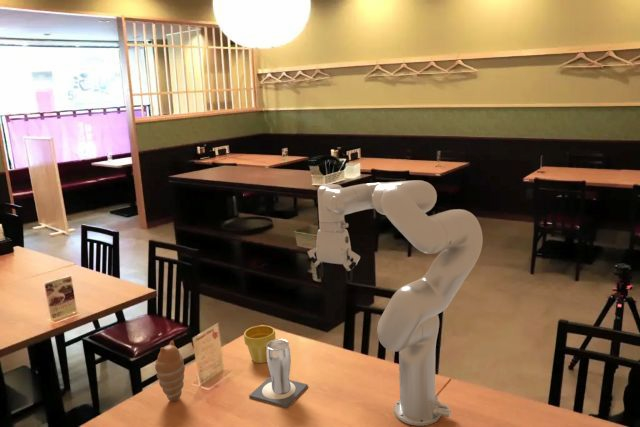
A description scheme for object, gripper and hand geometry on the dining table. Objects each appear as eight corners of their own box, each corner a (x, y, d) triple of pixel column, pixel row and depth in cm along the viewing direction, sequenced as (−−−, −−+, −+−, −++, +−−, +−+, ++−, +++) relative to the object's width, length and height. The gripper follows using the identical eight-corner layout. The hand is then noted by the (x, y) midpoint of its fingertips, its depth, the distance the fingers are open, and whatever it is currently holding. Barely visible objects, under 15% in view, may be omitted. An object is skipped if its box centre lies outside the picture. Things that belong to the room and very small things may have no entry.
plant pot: (246, 352, 183) (244, 326, 180) (276, 349, 184) (274, 323, 181) (245, 367, 173) (243, 340, 170) (277, 364, 174) (275, 337, 171)
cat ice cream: (174, 389, 162) (167, 335, 158) (194, 394, 158) (188, 339, 154) (153, 405, 154) (146, 348, 150) (174, 411, 151) (167, 353, 147)
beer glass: (282, 399, 152) (278, 352, 149) (264, 392, 156) (260, 345, 153) (297, 388, 157) (294, 342, 154) (280, 381, 162) (276, 336, 158)
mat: (307, 386, 160) (307, 384, 159) (286, 408, 149) (286, 405, 149) (271, 377, 166) (271, 375, 165) (249, 397, 155) (249, 394, 155)
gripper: (363, 224, 157) (365, 279, 161) (312, 220, 165) (315, 272, 169) (353, 231, 151) (355, 287, 154) (300, 226, 159) (303, 280, 163)
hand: (334, 279), depth 162 cm, fingers open, 9 cm apart
